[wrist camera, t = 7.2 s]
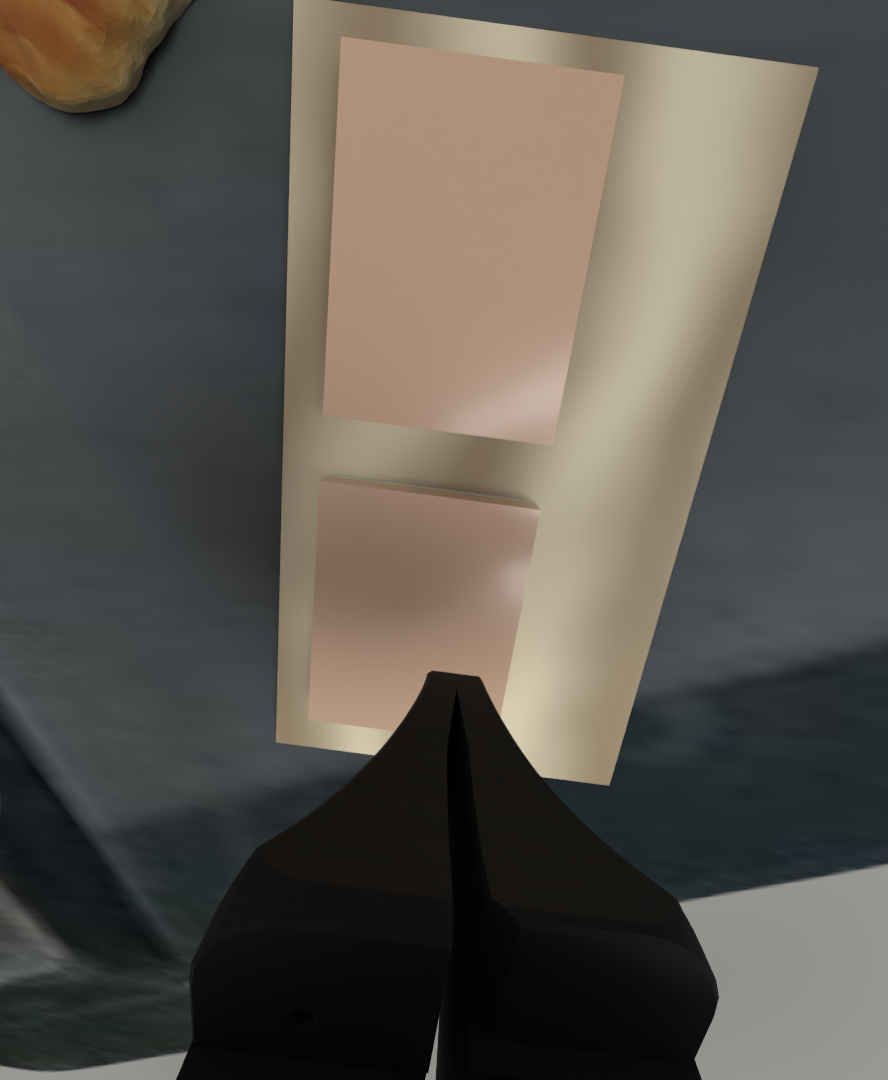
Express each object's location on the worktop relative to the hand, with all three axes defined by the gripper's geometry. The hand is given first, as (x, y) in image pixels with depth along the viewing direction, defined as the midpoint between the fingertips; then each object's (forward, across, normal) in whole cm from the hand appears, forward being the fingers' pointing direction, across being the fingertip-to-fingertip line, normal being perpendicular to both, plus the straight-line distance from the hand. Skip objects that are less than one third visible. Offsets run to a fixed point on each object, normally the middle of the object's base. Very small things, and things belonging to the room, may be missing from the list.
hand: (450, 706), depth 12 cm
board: (+6, 0, -5) cm, 8 cm away
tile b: (+5, -2, 0) cm, 5 cm away
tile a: (+5, -2, -11) cm, 12 cm away
